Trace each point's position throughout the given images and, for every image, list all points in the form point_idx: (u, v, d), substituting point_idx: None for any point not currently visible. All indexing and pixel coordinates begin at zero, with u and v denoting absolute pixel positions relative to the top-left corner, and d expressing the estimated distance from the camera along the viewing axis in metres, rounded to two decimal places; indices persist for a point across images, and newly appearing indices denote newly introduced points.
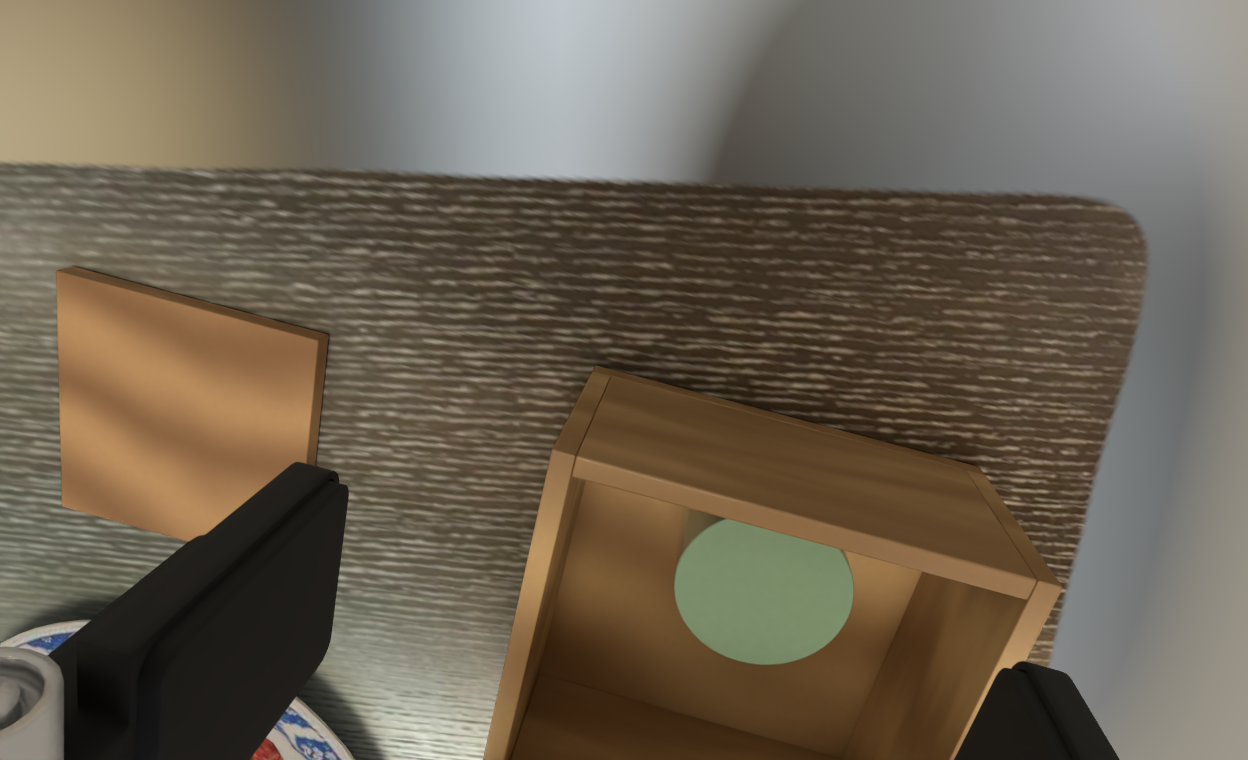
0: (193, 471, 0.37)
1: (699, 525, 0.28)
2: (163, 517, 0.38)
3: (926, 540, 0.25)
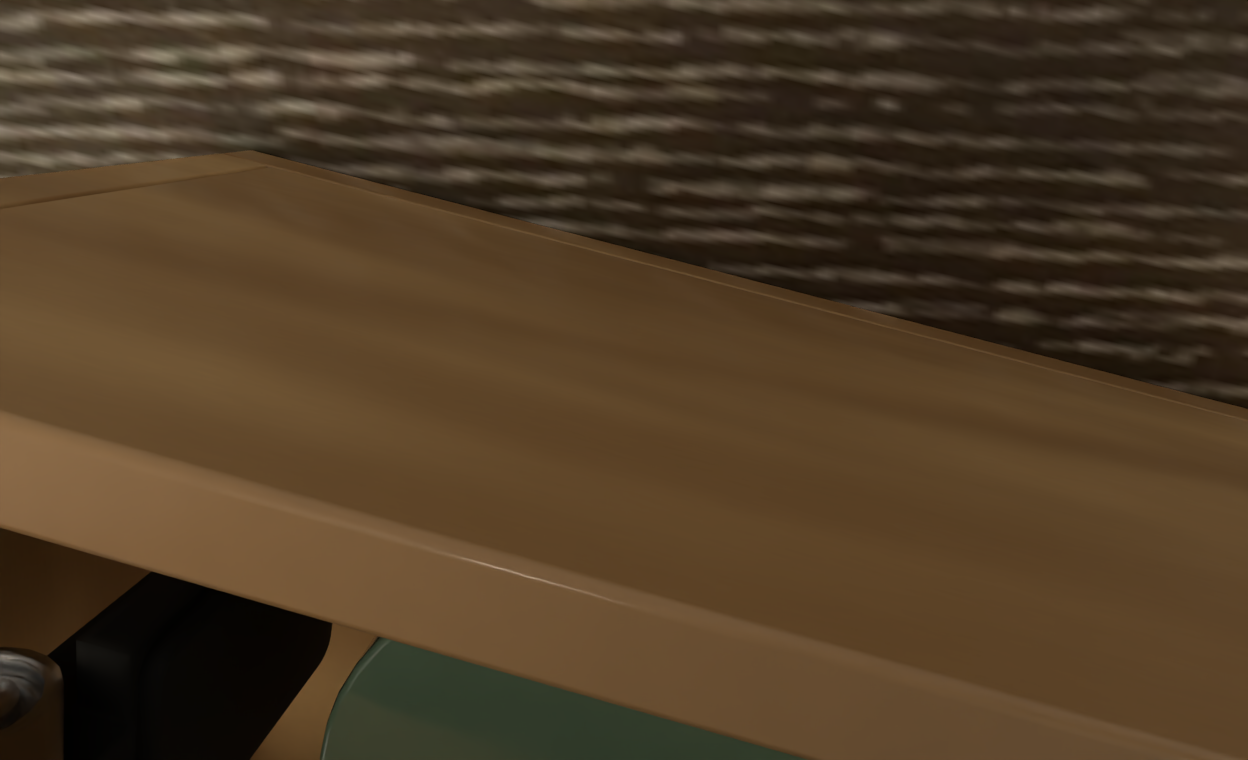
0: None
1: None
2: None
3: None
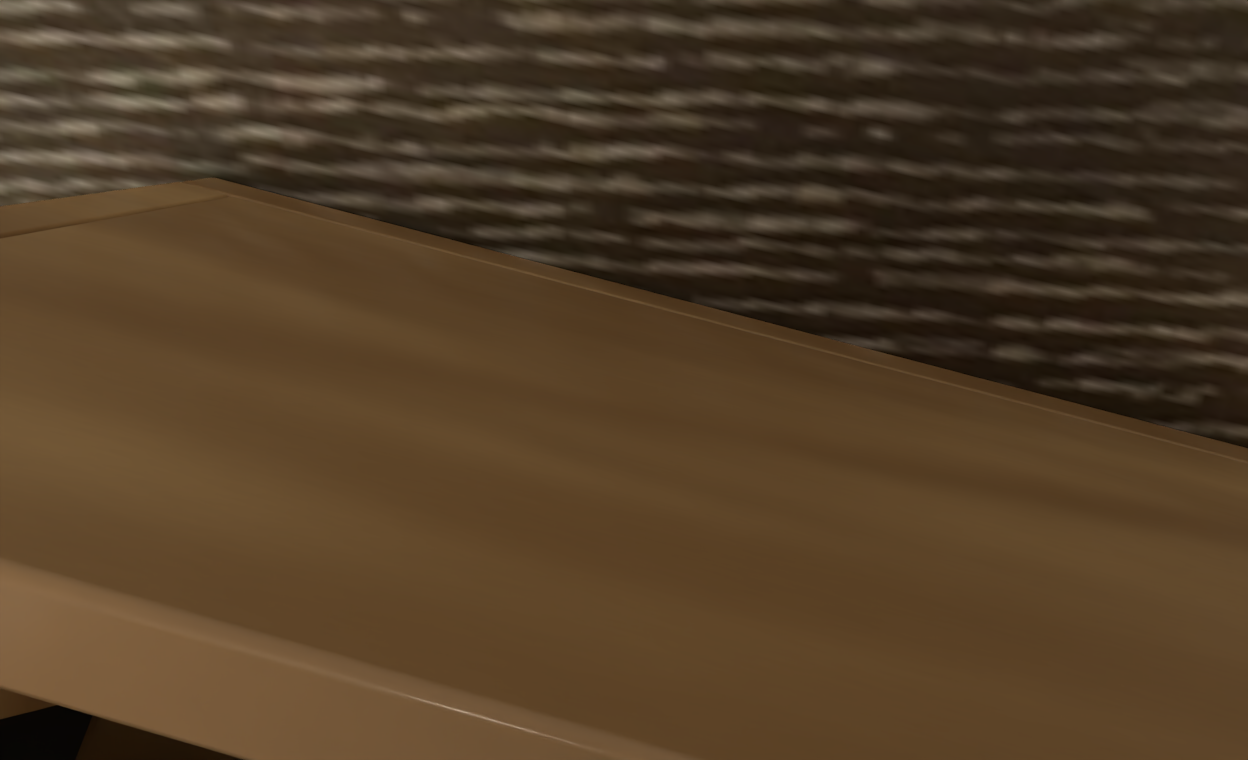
0: None
1: None
2: None
3: None
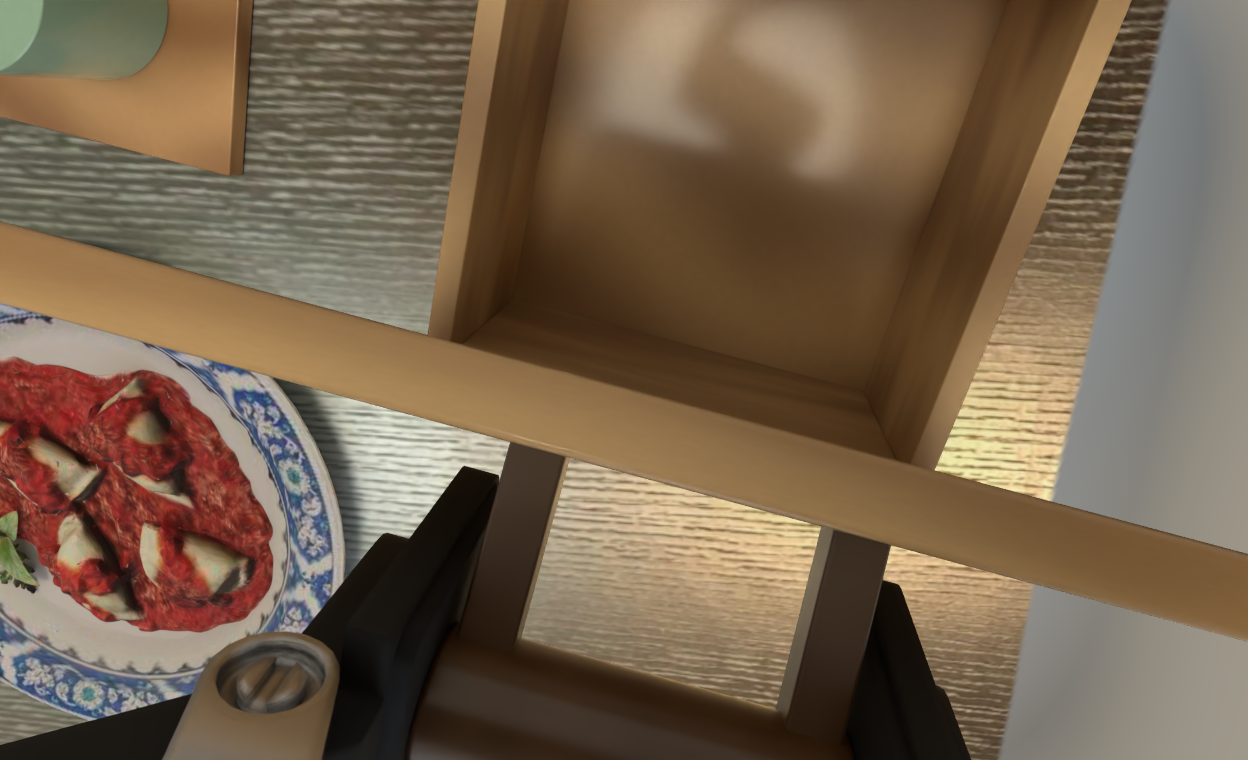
0: None
1: None
2: (75, 111, 0.32)
3: None
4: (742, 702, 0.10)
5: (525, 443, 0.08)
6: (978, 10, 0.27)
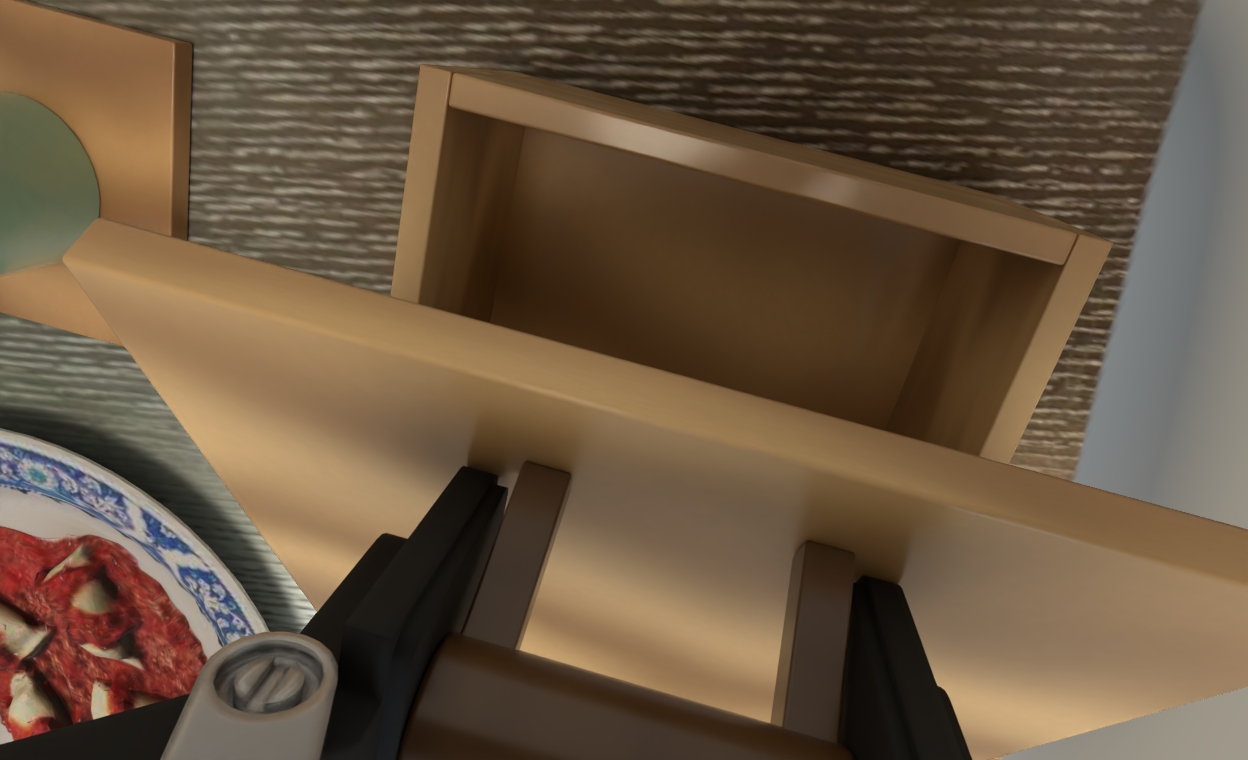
0: None
1: None
2: (10, 292, 0.31)
3: (926, 192, 0.19)
4: None
5: (560, 395, 0.09)
6: None
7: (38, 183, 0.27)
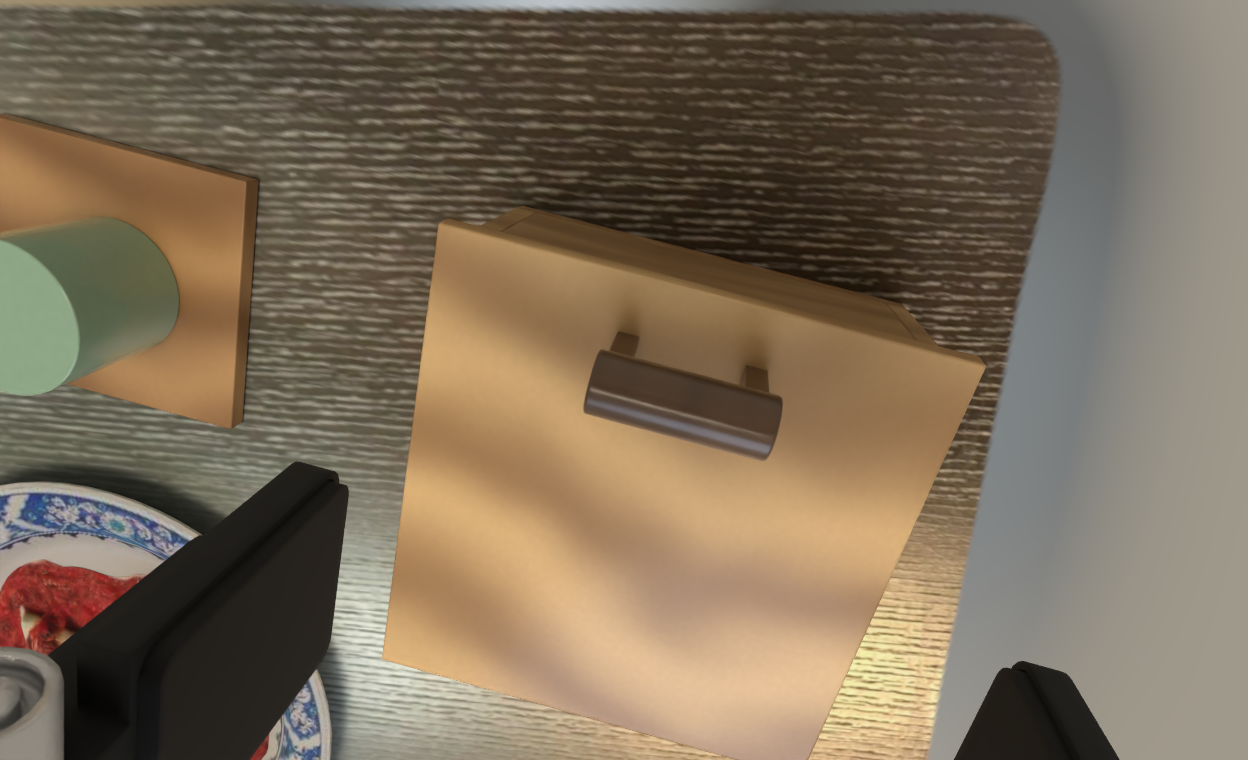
0: None
1: None
2: (99, 374, 0.38)
3: None
4: None
5: (645, 277, 0.23)
6: None
7: (137, 296, 0.33)
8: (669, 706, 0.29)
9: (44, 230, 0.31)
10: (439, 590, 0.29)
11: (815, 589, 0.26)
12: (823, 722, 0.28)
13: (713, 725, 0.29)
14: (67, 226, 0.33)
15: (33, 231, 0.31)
